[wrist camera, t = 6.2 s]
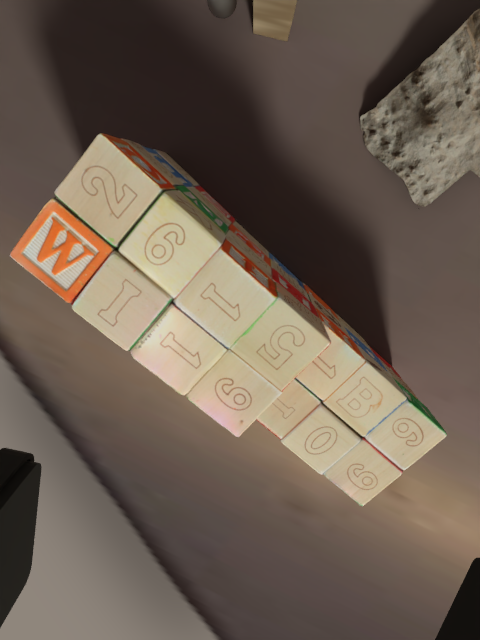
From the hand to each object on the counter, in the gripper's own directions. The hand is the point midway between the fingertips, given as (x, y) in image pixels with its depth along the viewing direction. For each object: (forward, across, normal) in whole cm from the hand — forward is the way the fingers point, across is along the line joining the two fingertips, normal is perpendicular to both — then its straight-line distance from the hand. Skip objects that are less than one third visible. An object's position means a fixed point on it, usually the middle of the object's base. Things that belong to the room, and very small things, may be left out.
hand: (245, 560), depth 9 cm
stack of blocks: (+23, 0, 0) cm, 23 cm away
